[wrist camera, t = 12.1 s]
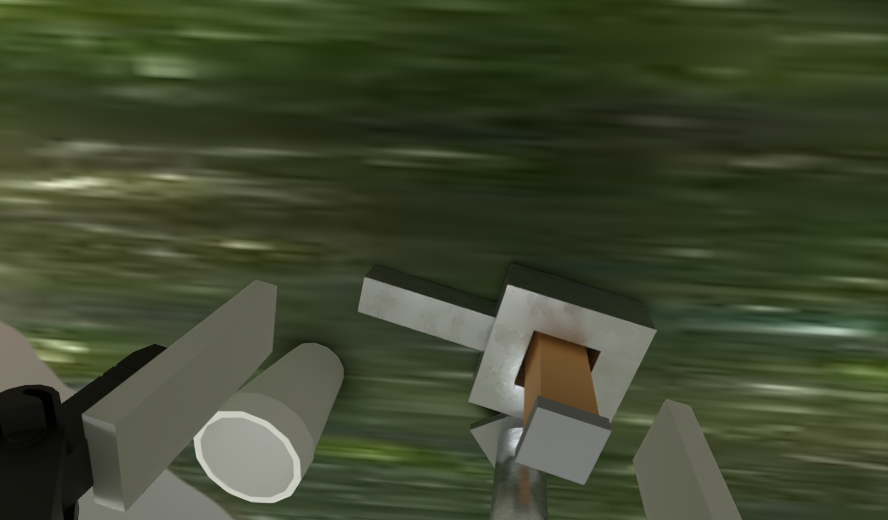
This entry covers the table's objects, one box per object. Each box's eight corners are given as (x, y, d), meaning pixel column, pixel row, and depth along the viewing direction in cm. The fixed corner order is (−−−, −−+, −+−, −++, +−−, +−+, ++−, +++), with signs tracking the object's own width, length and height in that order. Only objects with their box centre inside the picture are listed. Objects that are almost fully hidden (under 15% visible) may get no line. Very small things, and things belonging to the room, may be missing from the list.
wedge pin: (536, 308, 43) (537, 407, 30) (587, 323, 42) (611, 430, 29) (520, 350, 44) (514, 461, 31) (569, 366, 44) (584, 485, 31)
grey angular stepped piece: (383, 224, 42) (287, 313, 26) (642, 302, 41) (718, 452, 24) (347, 398, 50) (255, 552, 34) (563, 470, 48) (578, 670, 32)
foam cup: (367, 349, 48) (311, 438, 36) (347, 416, 51) (291, 518, 39) (282, 317, 48) (198, 394, 36) (268, 386, 52) (188, 476, 40)
